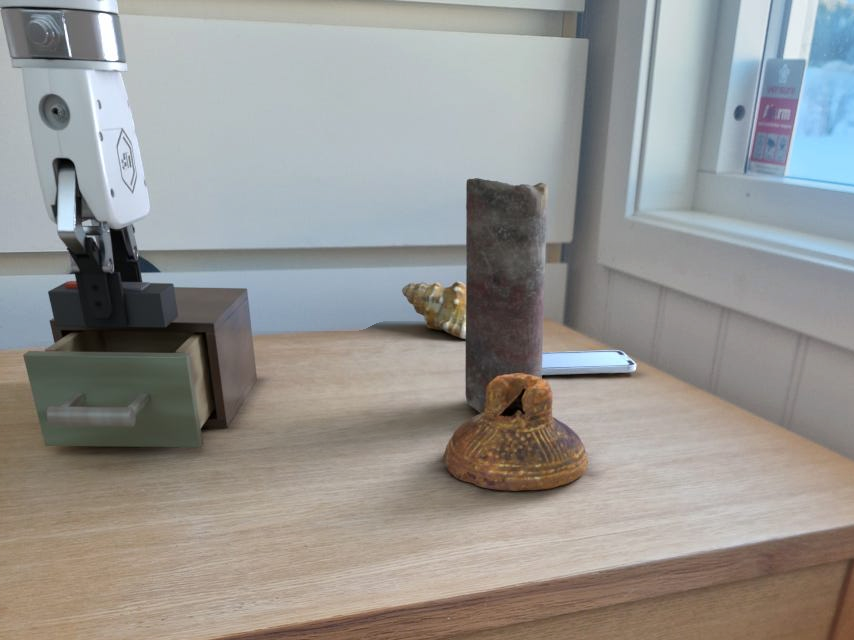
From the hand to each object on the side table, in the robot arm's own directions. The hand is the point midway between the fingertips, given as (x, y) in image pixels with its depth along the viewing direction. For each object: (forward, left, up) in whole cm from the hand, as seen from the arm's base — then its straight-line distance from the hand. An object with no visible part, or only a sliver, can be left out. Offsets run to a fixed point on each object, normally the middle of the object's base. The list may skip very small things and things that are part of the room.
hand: (117, 317), depth 71 cm
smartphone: (+40, +25, -10) cm, 48 cm away
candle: (+32, +10, -10) cm, 35 cm away
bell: (+32, -6, -10) cm, 34 cm away
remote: (0, 0, 0) cm, 0 cm away
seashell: (+27, +42, -10) cm, 51 cm away
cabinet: (0, +11, -10) cm, 15 cm away
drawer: (0, 0, -9) cm, 9 cm away
